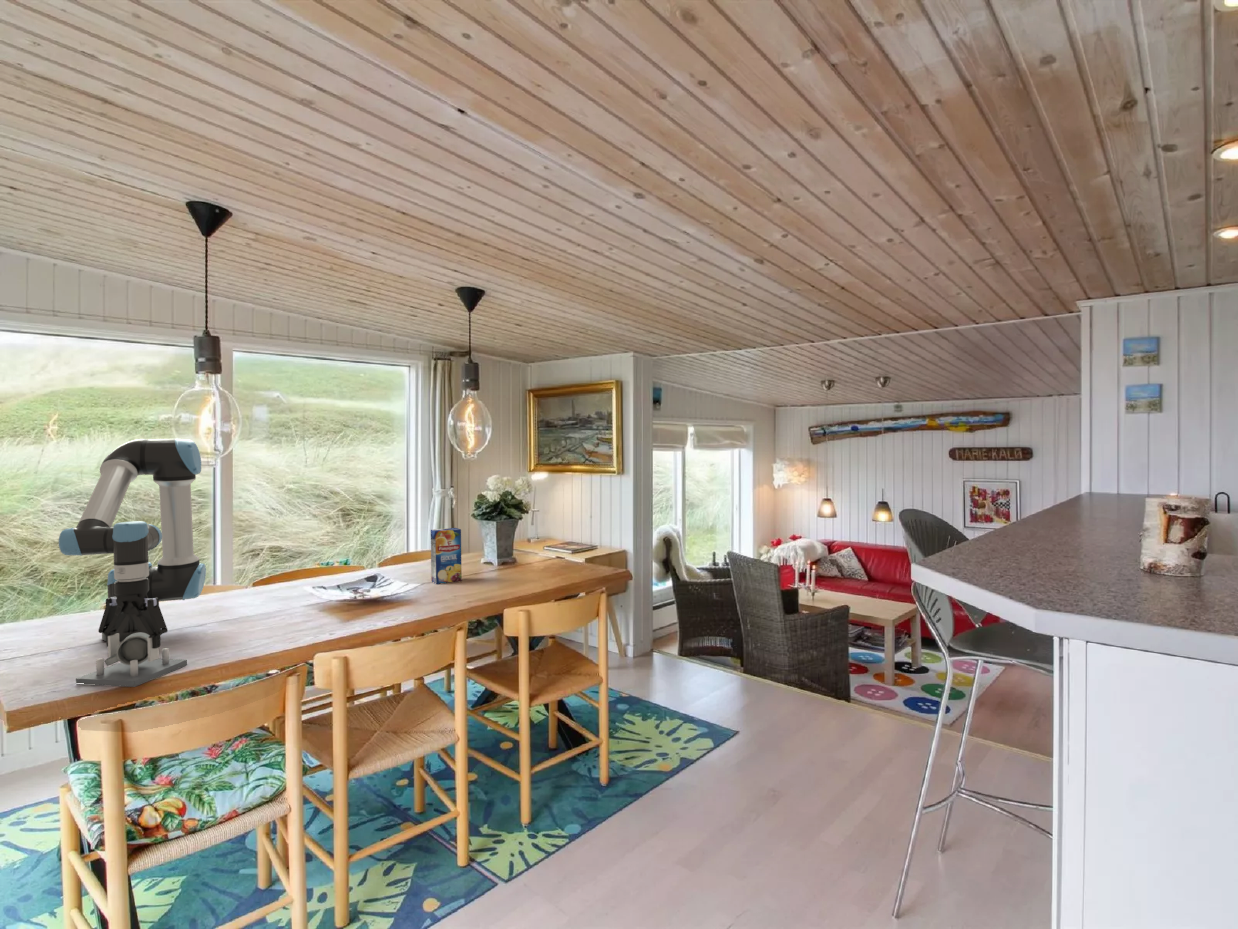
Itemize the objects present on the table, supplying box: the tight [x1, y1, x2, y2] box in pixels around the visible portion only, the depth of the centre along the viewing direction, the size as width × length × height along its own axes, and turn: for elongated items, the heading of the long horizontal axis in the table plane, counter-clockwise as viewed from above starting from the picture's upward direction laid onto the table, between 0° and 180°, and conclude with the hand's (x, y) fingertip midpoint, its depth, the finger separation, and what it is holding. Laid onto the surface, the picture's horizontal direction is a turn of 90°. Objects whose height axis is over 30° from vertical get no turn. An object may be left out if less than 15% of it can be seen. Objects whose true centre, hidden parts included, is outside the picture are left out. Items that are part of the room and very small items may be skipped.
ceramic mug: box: [104, 632, 150, 667], centre depth 174 cm, size 11×8×8 cm
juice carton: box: [430, 527, 463, 585], centre depth 296 cm, size 12×8×24 cm, turn 123°
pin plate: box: [75, 647, 188, 688], centre depth 174 cm, size 17×17×6 cm
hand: (133, 659), depth 174 cm, fingers closed on ceramic mug, 11 cm apart
